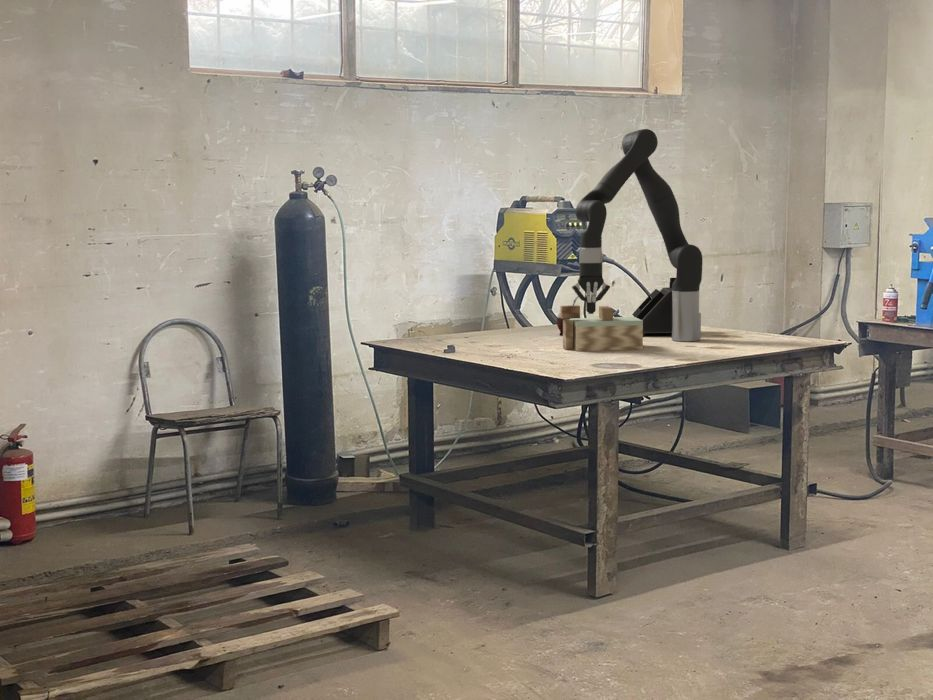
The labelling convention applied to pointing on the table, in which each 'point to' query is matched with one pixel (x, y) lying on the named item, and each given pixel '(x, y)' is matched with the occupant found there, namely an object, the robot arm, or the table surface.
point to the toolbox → (602, 337)
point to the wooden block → (570, 312)
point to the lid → (606, 319)
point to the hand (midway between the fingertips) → (590, 313)
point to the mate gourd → (560, 320)
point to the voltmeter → (657, 311)
